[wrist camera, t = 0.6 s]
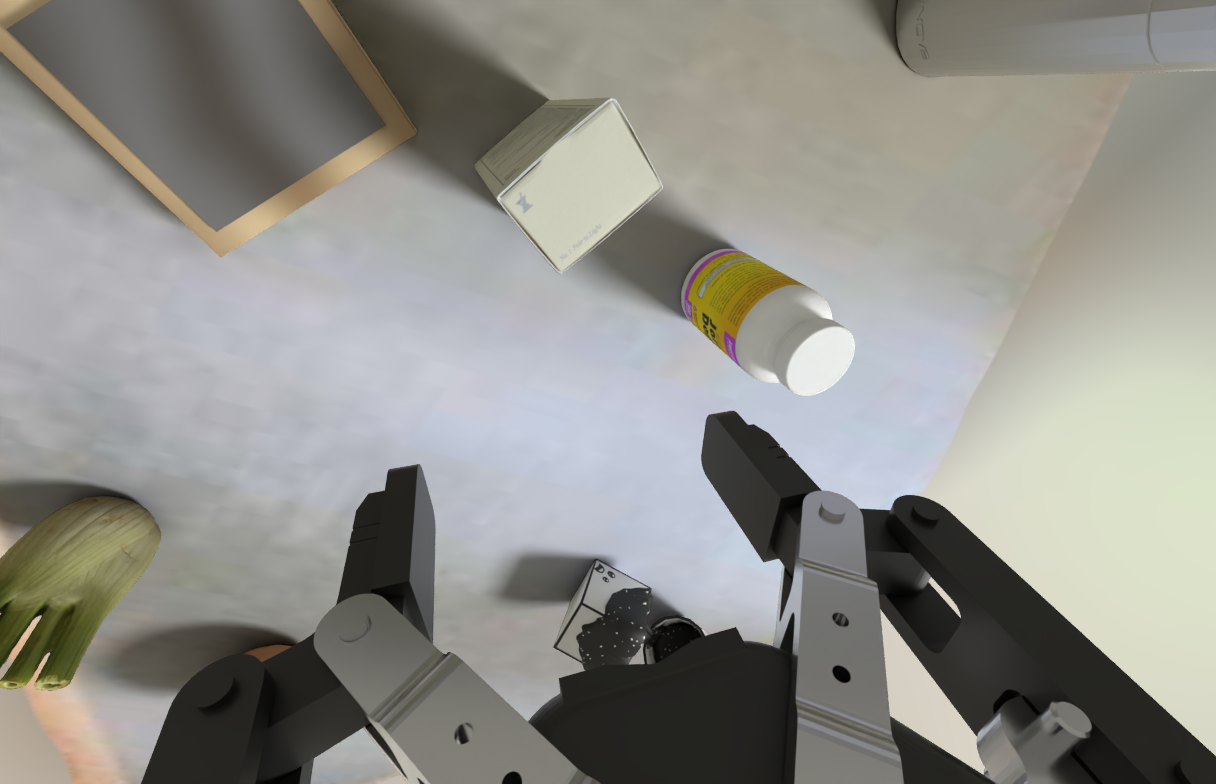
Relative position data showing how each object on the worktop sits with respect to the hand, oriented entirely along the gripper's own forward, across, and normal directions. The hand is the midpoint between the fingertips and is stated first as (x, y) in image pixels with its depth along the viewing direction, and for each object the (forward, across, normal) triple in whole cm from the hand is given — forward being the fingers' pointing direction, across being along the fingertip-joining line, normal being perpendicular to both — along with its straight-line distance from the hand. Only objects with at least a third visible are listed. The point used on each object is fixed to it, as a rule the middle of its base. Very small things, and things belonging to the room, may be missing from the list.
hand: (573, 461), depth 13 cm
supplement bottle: (+23, -16, +5) cm, 29 cm away
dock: (+22, +12, -9) cm, 27 cm away
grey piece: (+23, -10, +44) cm, 51 cm away
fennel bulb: (+22, +28, +16) cm, 39 cm away
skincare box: (+23, -3, -5) cm, 24 cm away
